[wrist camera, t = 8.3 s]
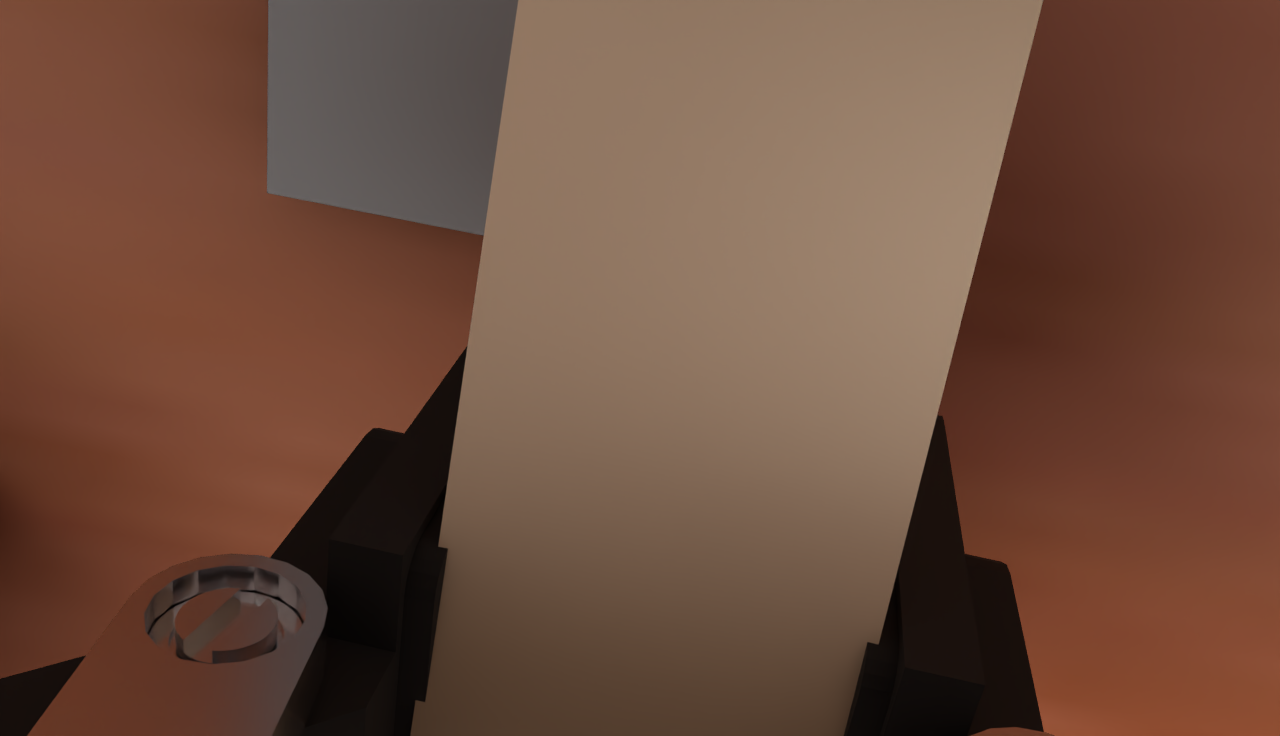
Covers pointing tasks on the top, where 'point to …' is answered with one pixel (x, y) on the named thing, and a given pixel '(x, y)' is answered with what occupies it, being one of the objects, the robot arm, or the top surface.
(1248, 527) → the top surface
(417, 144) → the mat
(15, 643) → the top surface
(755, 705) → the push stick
